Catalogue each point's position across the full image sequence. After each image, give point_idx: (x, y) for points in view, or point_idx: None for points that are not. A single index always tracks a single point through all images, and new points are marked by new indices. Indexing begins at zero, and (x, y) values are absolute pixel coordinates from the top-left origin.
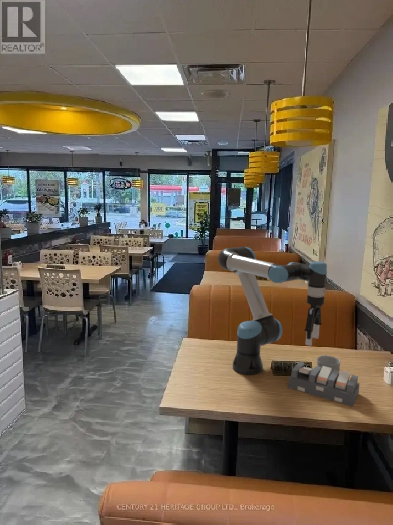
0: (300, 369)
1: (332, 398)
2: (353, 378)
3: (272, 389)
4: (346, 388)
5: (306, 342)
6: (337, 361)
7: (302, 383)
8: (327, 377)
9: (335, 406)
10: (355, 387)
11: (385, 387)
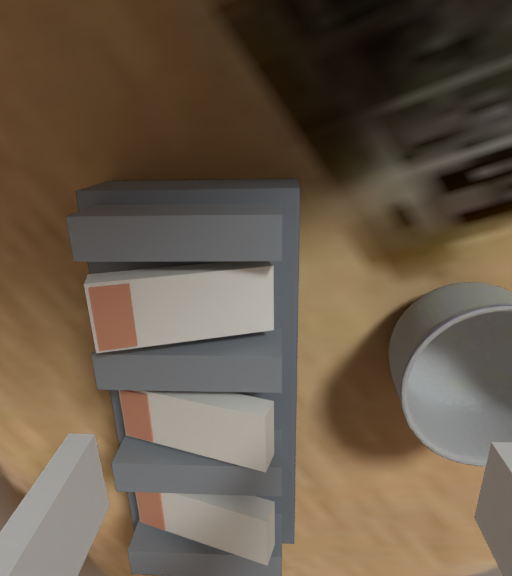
0: (86, 290)
1: None
2: (231, 566)
3: (12, 99)
4: None
5: (50, 476)
6: None
7: None
8: (166, 444)
9: (98, 434)
10: None
11: (435, 569)
